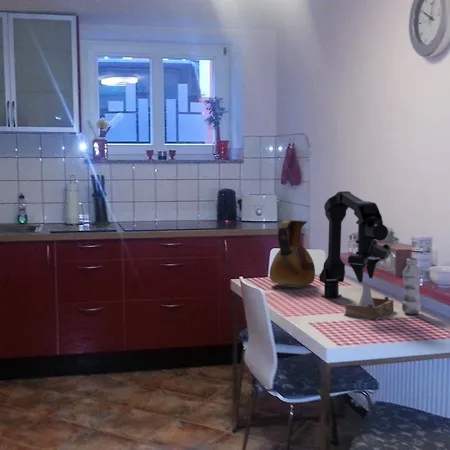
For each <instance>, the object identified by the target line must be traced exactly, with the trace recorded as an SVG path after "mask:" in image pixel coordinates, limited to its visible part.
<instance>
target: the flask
mask: <svg viewBox="0 0 450 450" xmlns="http://www.w3.org/2000/svg"><path fill="white" fill-rule="evenodd" d="M361 283H362V284H361V285H362V293H361V296H360V300H359V303H358V305H359V306H366V307H368V304H372V307H374V308H375V305H374V302H373V299H372V298H373V297H372V293H371V286H372V284H371V283H369V282H361Z"/></svg>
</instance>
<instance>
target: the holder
mask: <svg viewBox="0 0 450 450" xmlns="http://www.w3.org/2000/svg"><path fill="white" fill-rule="evenodd" d="M372 299H373V302H374V305H375V308H374V307H372V304H368V307H366V306H359V304H352V303H351V304H349V303H346V304H345V313H344V314H343V315H344V316H347V317H353V318H354V317H356V318H360V319H361V318H362V319H369V320H375V321H377V320H379V319H380V318H382V317H384V316H387V315H388V314H390V313H392V312H394V302H395V301H394V299H390V298H389V296H384V298H378V297H372Z"/></svg>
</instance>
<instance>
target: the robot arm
mask: <svg viewBox="0 0 450 450" xmlns="http://www.w3.org/2000/svg"><path fill="white" fill-rule="evenodd" d="M323 208H324V213H325V214H324V215H325V217H326V218H327V221H328V247H327V248H328V249H327V251H328V252H327V253H328V254H327V255H328V256H327V258H326V260H325V261H324V262H323V268H322V269H321V272H320V274H319V276H318V277H319V282H320V283H323V284H324V287H323V288H324V294H322V295H321V296H320V297H321V298H328V299H337V298H338V299H339V298H340V297H342V296H343V295H342V294H339V284H340V283H344V280H345V275H346V264H345V262H343V260H342V258H341V252H342V251H341V249H342V246H341V245H342V222H343V221H344V219H345V218H346V215H347V210H348V209H349V208H350V209H351V210H353V215H354V216H355V217H356V218H357V219H358V220H356V221H355V224H356V225H358V226H357V228H358V231H357V233H358V234H357V240H355V243H356V244H357V251H355V253H353V254H350V255H349V256H348V257H347V263H348V264H349V266H350V267H351V268H352V270H353V272H354V274H355V276H356V278H357V281H358V283H363V281H364V272H365V268H366V271H367V275H368V278H369V279H373V277H374V275H375V271H376V268H377V264H378V263H380V262H381V261H384V260H387V259H389V257H390V254H392V249H391V245H390V244H388V243H385V244H384V245H383V246H382V245H379V244H378V241H384V240H385V239H386V238H387V237H388V234H389V230H388V228H387V226H386V225H385V224H384V221H383V217H382V214H381V212H380V209H379V206H378V205H377V203H376V202H373V201H366V200H363V199H361V198H359V197H357V196H356V195H355V194H353V193H352V192H351V191H349V190H345V191H343V190H342V191H338V192H336V194H335V195H333V196H330V197H329V198H328V199H327V200H326V201H325V203H324V207H323Z"/></svg>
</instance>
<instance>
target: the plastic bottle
mask: <svg viewBox="0 0 450 450" xmlns="http://www.w3.org/2000/svg"><path fill="white" fill-rule="evenodd" d="M421 272H422V271H421V270H420V268H419V266H418V258H415V257H408V258H406V266H405V267H404V269H403V270H402V280H403V296H402V297H403V298H402V303H401V307H402V308H401V309H402V311H403V313H404V314H407V315H408V314H409V315H417V314H419V313H420V312H421V307H422V306H421V301H420V282H421V277H422V273H421Z"/></svg>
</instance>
